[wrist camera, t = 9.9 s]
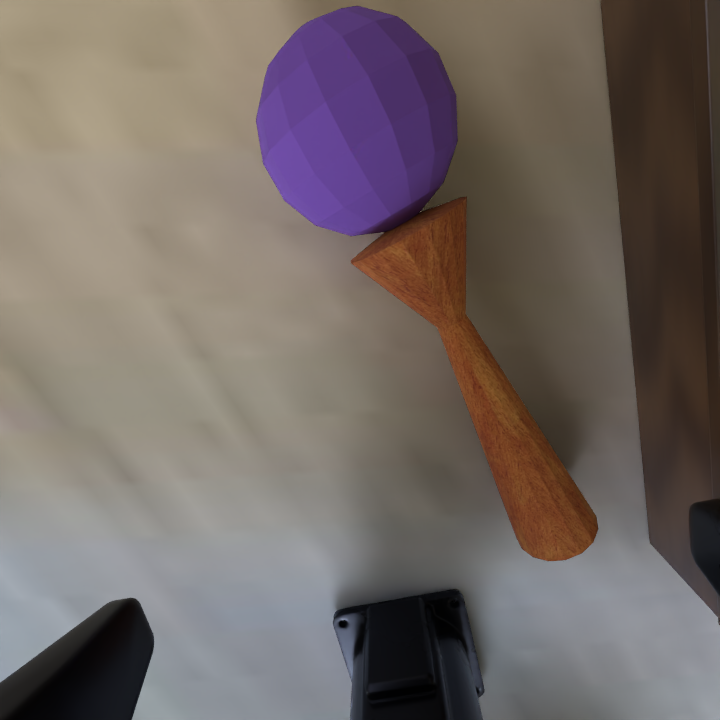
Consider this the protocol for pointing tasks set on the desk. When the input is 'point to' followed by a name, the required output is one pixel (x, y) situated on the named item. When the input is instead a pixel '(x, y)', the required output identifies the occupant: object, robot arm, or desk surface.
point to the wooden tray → (671, 251)
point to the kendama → (408, 227)
